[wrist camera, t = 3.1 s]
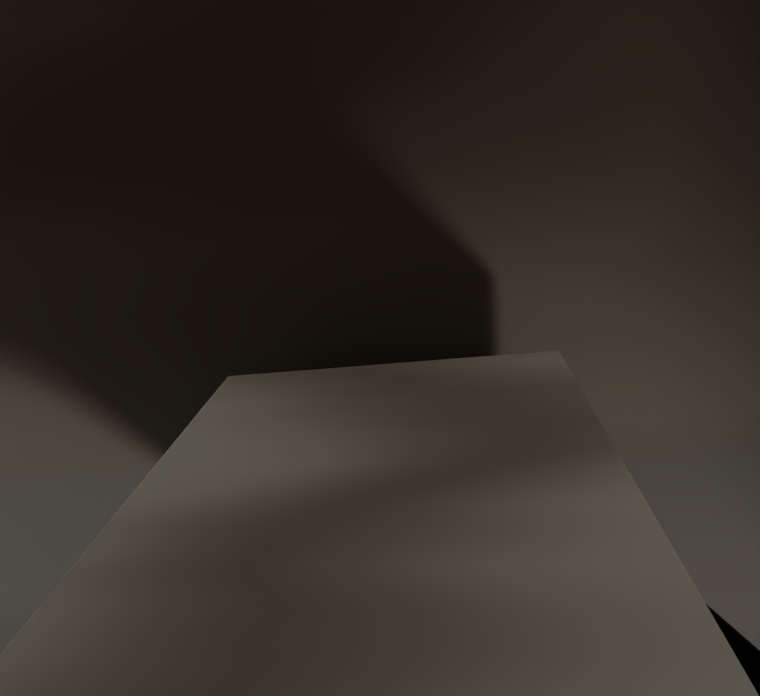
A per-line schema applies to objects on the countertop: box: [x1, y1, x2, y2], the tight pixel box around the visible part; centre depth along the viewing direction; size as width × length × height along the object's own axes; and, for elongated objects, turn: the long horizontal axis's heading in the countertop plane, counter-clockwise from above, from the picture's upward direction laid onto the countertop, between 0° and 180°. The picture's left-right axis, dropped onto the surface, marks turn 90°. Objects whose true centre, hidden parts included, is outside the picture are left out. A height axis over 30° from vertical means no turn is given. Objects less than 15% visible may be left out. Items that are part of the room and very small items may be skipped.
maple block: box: [0, 350, 759, 696], centre depth 6 cm, size 5×5×5 cm
